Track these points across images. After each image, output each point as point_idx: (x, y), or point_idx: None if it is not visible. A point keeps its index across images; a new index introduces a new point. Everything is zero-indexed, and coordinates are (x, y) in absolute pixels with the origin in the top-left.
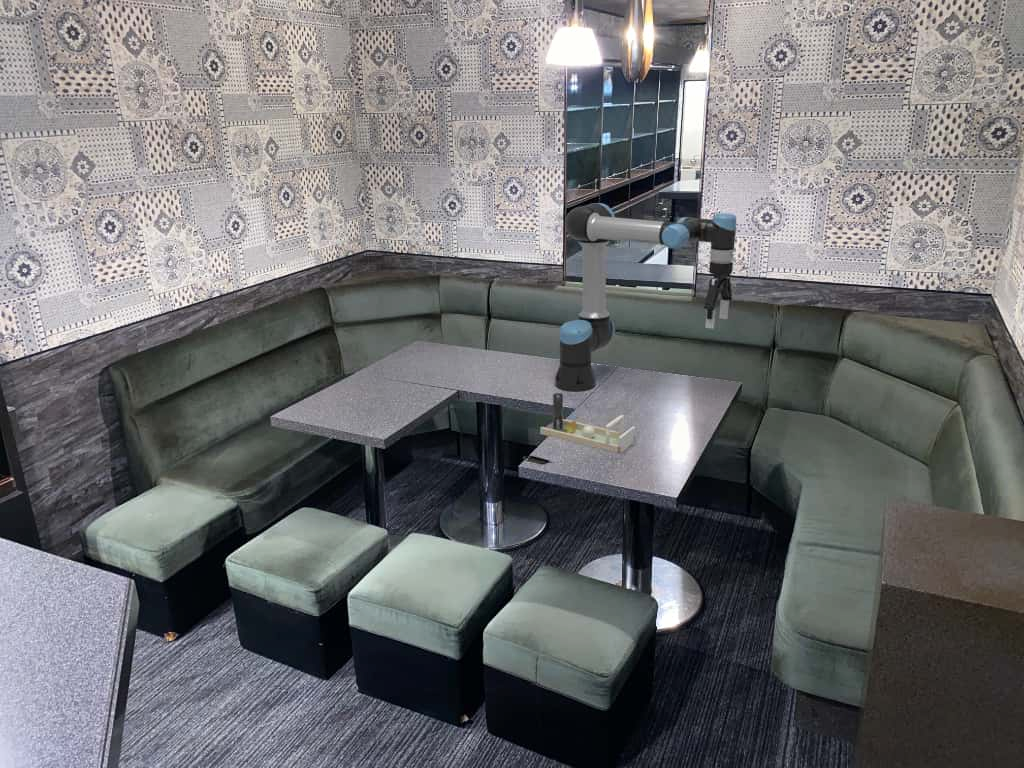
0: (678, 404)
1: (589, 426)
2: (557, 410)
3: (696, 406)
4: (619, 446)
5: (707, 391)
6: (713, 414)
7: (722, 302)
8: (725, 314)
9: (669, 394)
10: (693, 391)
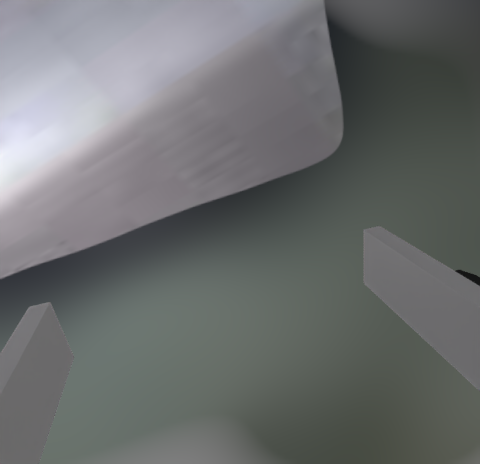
0: (61, 112)
1: None
2: None
3: (93, 167)
4: None
5: (232, 125)
6: (78, 237)
7: (470, 325)
8: (384, 291)
9: (119, 30)
10: (203, 87)
